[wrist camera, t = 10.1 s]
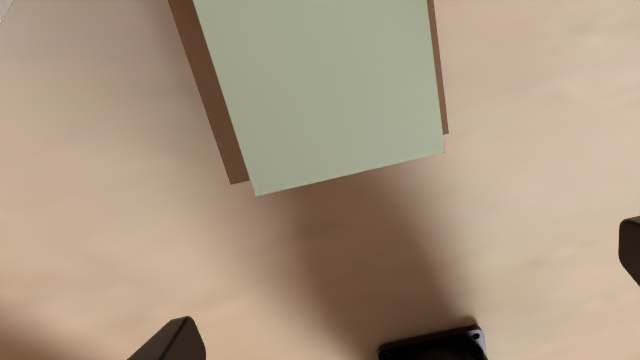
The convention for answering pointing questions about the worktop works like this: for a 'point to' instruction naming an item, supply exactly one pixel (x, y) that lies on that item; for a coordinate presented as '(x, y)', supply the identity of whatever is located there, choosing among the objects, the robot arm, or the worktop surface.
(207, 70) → the pocket holder
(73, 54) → the worktop surface
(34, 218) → the worktop surface
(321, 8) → the green block
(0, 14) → the french press
